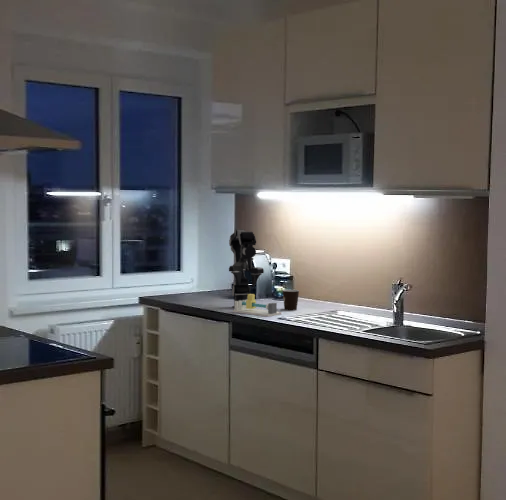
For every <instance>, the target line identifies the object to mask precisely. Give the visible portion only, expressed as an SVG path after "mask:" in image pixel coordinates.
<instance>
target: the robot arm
mask: <svg viewBox="0 0 506 500" xmlns="http://www.w3.org/2000/svg"><path fill="white" fill-rule="evenodd" d="M228 241H229V242H228V244H229V246H230V251H231V252H232V253H233V255H234V264H233V265H230V266H229V268H228V272H230V273H231V274H233V276H234V277H235V281H234V282H233V284H232V285H233V286H232V290H231V295H232V297H233V302H234V303H233V304H234V305H233V306H231V307H232V308H235V301H242V300H246V299H248V294H251V287H252V288H254V287H255V286H256V284H257V282H258V279H259V278H260V276H261V275H262V274H264V272H265V270H264V268H263V267H258V266H256V267H254V265H253V261H254V257H255V256H256V254H257V250H256V248H255V246H256V244H257V239H256V235H255V233H254V231H246V230H245V229H243V228H236V229H235V230H234V232H233V233H231V235H230V236H229V240H228ZM245 272H249V273H250V277H251V286H250V284H249V279H248V278H247V277H246V276H245Z"/></svg>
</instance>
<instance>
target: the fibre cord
mask: <svg viewBox="0 0 506 500" xmlns="http://www.w3.org/2000/svg"><path fill="white" fill-rule="evenodd" d="M242 305H246V302H242ZM252 306H254V307H256V308H261V309H262V308H265V310H268V313H269V314H274V313H277V312H278V309H277V308H278V307H277V302H269V303H266V304H263V303H257V302H256V303H252Z"/></svg>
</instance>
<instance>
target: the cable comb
mask: <svg viewBox="0 0 506 500" xmlns="http://www.w3.org/2000/svg"><path fill="white" fill-rule="evenodd" d="M246 301H248V298H247V299H246V300H242V301H235V307H234V309H232V312H233V313H239V314H247V315H253V316H259V317H275V316H280V315H282V312H281V311H277V313H274V314H269V313H268V310H267V309H259V308H254V309H246V305H242V302H246Z"/></svg>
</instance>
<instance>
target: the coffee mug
mask: <svg viewBox="0 0 506 500" xmlns="http://www.w3.org/2000/svg"><path fill="white" fill-rule="evenodd" d="M299 294H300V290H298V289H283V290H282V298H283V308H284V311H297V309H298V302H299Z"/></svg>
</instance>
